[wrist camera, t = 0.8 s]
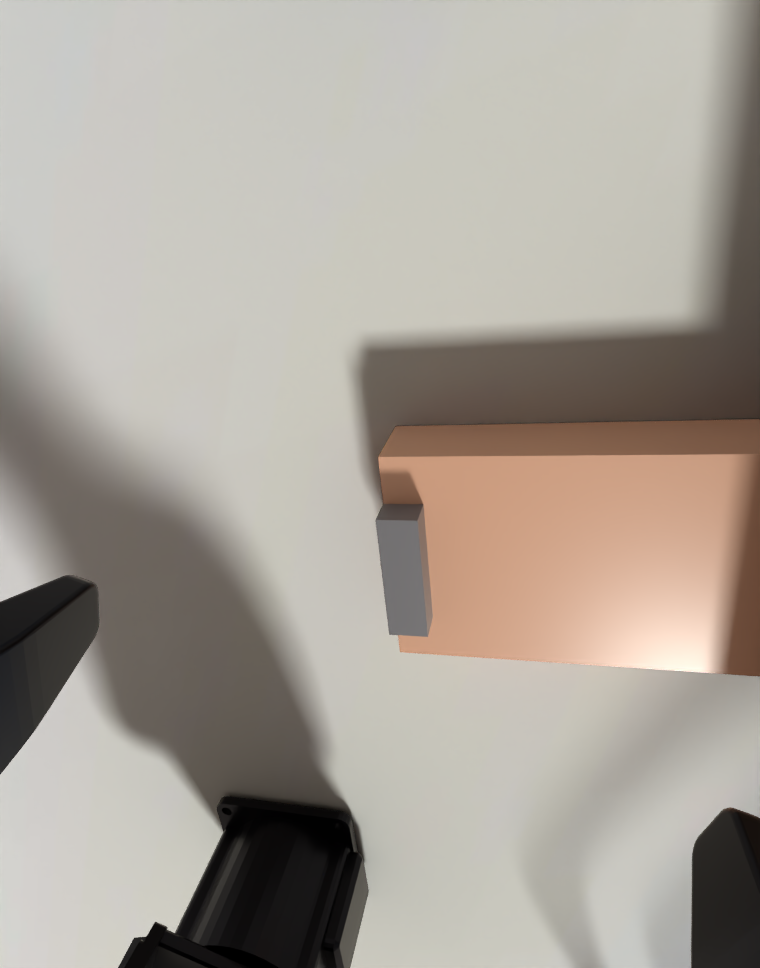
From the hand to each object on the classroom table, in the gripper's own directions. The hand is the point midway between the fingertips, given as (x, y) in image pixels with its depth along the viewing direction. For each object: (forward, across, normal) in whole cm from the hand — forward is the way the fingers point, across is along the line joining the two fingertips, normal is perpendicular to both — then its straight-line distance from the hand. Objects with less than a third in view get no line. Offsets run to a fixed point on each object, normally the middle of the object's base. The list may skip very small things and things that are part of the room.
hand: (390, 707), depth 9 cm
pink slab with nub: (+12, -4, +4) cm, 14 cm away
